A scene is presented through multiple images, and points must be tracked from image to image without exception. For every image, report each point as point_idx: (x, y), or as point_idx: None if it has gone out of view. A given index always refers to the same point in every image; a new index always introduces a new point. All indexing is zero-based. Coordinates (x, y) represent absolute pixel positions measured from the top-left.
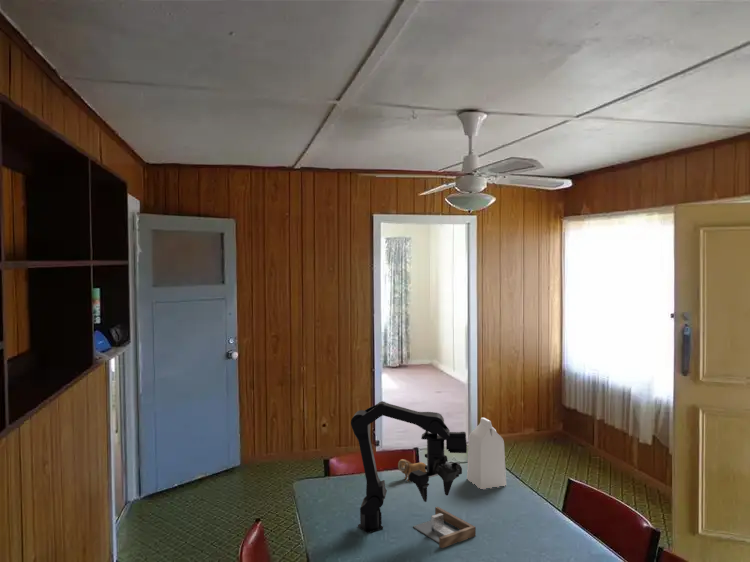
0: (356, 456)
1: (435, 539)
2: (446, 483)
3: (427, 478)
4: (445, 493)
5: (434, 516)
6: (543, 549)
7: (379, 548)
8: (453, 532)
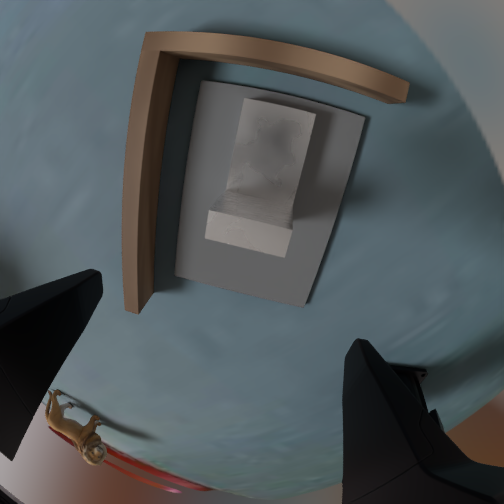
0: (133, 476)
1: (351, 152)
2: (31, 355)
3: None
4: (95, 298)
5: (276, 238)
6: None
7: (496, 289)
8: (296, 65)
